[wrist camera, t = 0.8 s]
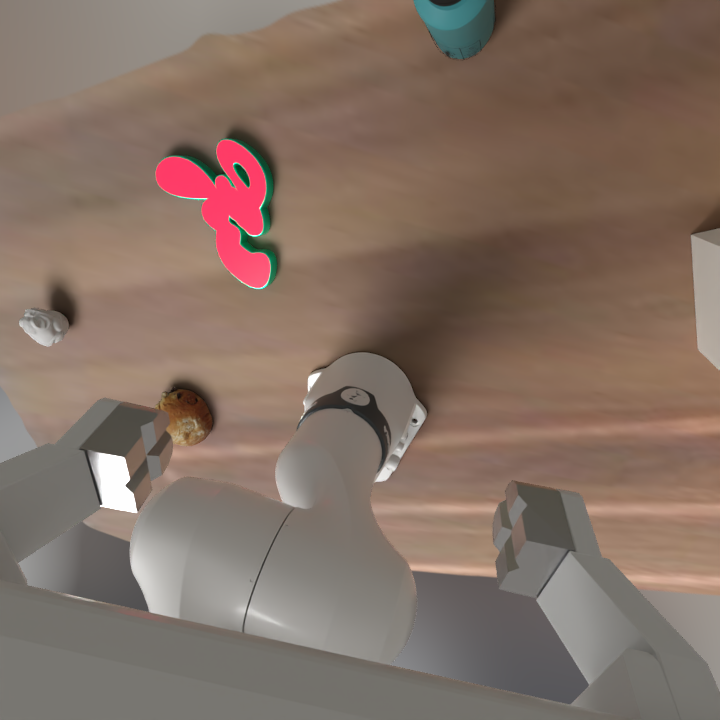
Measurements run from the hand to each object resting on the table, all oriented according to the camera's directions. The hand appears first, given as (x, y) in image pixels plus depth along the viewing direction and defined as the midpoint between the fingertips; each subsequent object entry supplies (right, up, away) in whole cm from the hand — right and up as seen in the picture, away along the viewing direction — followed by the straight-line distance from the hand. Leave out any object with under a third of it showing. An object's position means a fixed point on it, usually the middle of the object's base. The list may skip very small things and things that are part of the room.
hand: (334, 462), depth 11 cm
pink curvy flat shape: (-17, +22, +55) cm, 62 cm away
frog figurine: (-51, +10, +70) cm, 87 cm away
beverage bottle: (+12, +38, +39) cm, 56 cm away
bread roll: (-30, -7, +71) cm, 77 cm away
